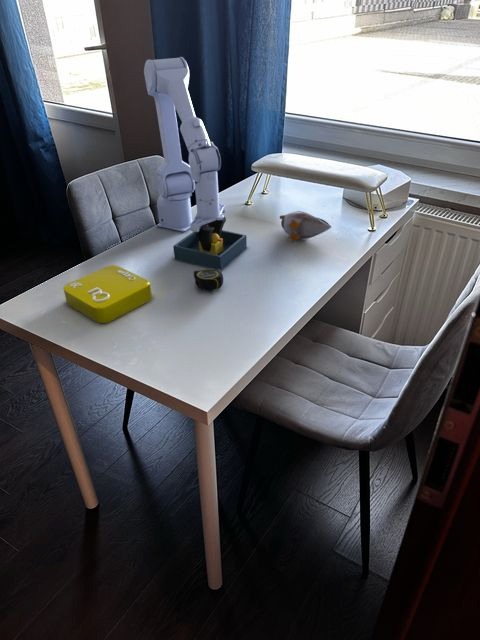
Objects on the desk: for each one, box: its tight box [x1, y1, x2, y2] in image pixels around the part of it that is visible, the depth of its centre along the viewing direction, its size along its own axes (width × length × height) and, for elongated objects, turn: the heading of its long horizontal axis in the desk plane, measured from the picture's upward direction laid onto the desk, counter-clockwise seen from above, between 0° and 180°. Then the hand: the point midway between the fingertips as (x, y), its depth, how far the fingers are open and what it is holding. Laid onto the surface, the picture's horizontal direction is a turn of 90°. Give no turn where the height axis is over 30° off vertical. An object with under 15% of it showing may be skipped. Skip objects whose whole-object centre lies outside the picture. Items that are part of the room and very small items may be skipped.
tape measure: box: [193, 268, 224, 292], centre depth 121 cm, size 7×7×4 cm
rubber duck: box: [199, 233, 223, 255], centre depth 134 cm, size 6×4×5 cm, turn 64°
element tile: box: [62, 264, 153, 324], centre depth 116 cm, size 15×15×5 cm
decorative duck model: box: [279, 210, 332, 243], centre depth 143 cm, size 15×8×15 cm
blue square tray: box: [172, 229, 248, 271], centre depth 135 cm, size 14×14×4 cm
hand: (210, 246), depth 135 cm, fingers closed on rubber duck, 4 cm apart
